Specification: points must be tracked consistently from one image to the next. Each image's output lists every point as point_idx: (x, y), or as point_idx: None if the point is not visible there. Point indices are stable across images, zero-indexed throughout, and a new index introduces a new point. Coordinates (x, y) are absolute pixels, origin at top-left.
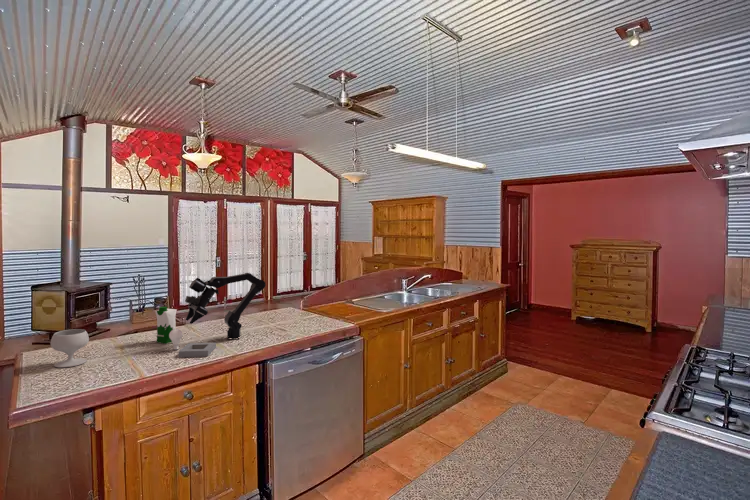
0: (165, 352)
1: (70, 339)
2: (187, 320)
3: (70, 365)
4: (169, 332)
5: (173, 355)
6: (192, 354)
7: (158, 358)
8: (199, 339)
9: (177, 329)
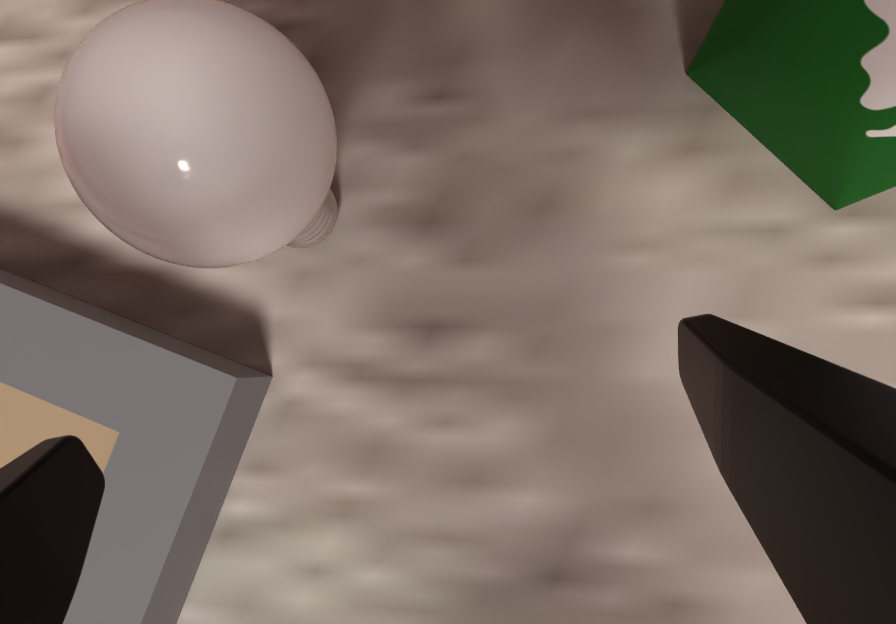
0: None
1: None
2: (681, 380)
3: None
4: (778, 28)
5: (64, 191)
6: None
7: (28, 34)
8: (753, 559)
9: (99, 122)
